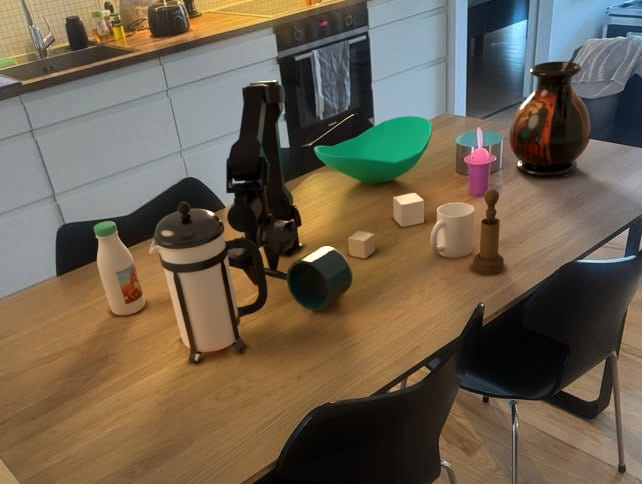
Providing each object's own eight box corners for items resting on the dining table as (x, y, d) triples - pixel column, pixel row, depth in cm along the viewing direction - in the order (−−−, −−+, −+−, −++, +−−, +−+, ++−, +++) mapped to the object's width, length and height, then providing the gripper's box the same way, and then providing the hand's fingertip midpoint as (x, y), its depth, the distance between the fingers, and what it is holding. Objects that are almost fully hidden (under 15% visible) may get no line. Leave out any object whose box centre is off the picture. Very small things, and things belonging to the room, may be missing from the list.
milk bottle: (116, 320, 150) (89, 236, 138) (108, 305, 155) (82, 224, 144) (149, 309, 152) (126, 225, 141) (140, 295, 158) (117, 214, 146)
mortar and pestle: (506, 263, 152) (511, 185, 142) (499, 276, 148) (504, 197, 137) (476, 259, 155) (479, 183, 145) (469, 273, 150) (472, 195, 140)
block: (349, 255, 164) (348, 238, 161) (359, 247, 167) (358, 230, 164) (365, 258, 161) (364, 241, 159) (375, 250, 164) (374, 233, 162)
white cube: (424, 222, 175) (423, 200, 171) (402, 227, 174) (401, 205, 170) (415, 214, 180) (414, 192, 176) (393, 218, 179) (393, 196, 175)
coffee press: (224, 373, 128) (192, 225, 111) (161, 354, 136) (122, 213, 119) (275, 328, 140) (253, 187, 122) (215, 313, 147) (187, 178, 130)
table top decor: (389, 152, 222) (388, 110, 215) (455, 168, 204) (456, 123, 197) (296, 190, 203) (291, 145, 196) (360, 211, 185) (356, 163, 177)
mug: (443, 267, 153) (444, 225, 148) (418, 257, 159) (417, 215, 153) (480, 250, 159) (482, 208, 153) (454, 240, 164) (454, 199, 159)
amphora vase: (496, 163, 204) (502, 63, 188) (566, 153, 205) (578, 53, 189) (522, 188, 186) (531, 80, 170) (599, 177, 187) (614, 69, 171)
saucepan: (354, 299, 146) (331, 315, 140) (274, 279, 157) (250, 293, 152) (352, 251, 140) (328, 266, 134) (269, 233, 152) (244, 246, 146)
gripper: (255, 236, 130) (267, 306, 139) (312, 201, 142) (319, 268, 151) (213, 226, 136) (226, 295, 145) (271, 193, 148) (280, 258, 157)
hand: (265, 279), depth 149 cm, fingers open, 6 cm apart
